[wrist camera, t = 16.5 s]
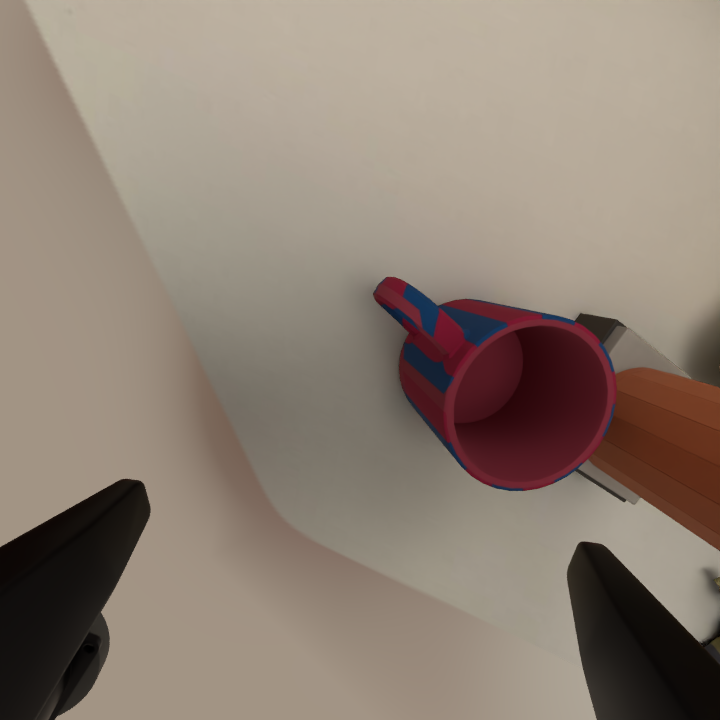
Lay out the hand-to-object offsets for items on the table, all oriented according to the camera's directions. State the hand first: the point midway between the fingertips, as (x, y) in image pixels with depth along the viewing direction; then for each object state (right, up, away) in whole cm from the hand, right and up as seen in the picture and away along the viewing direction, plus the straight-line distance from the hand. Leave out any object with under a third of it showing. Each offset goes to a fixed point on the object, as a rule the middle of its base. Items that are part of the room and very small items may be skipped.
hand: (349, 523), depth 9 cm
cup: (+4, +4, +13) cm, 14 cm away
